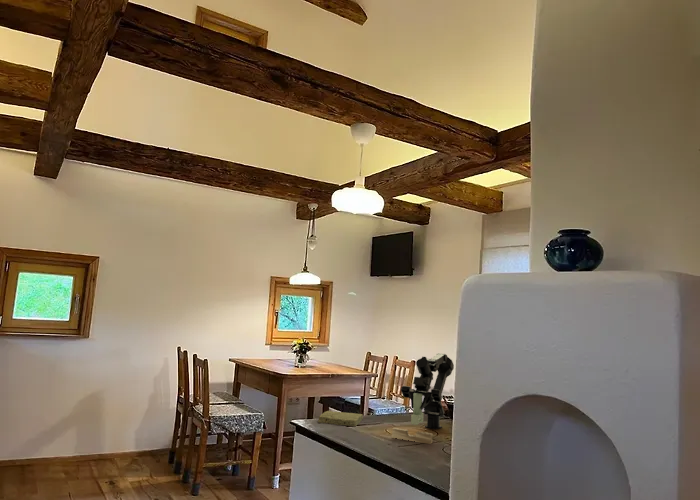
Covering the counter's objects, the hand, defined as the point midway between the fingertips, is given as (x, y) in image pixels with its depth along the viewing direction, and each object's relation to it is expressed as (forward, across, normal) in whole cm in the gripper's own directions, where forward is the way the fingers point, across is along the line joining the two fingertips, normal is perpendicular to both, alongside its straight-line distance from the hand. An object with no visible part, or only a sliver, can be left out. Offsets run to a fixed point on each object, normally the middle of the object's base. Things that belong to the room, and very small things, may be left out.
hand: (416, 408), depth 243 cm
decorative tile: (+3, -44, +17) cm, 47 cm away
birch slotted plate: (+13, 0, +5) cm, 14 cm away
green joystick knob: (+4, 0, +6) cm, 7 cm away
